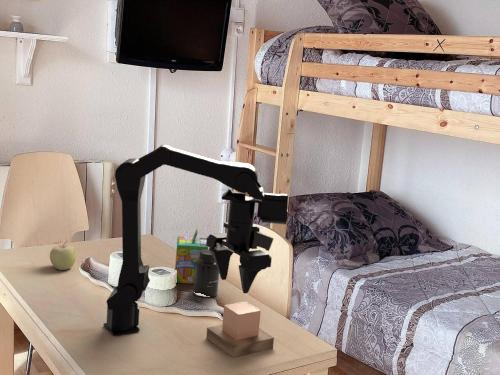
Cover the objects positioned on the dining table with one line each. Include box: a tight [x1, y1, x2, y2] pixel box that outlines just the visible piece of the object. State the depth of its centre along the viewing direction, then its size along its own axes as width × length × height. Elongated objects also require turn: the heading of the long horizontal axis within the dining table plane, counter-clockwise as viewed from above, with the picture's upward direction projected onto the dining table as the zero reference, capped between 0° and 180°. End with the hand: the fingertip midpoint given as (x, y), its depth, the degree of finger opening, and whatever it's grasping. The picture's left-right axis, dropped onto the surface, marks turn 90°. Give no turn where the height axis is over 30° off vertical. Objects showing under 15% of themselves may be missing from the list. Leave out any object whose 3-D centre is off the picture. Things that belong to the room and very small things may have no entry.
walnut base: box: [205, 324, 275, 358], centre depth 146 cm, size 11×11×2 cm
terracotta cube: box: [221, 300, 262, 340], centre depth 146 cm, size 6×6×6 cm
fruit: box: [49, 242, 77, 271], centre depth 186 cm, size 8×7×8 cm
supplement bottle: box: [192, 249, 220, 298], centre depth 175 cm, size 7×7×12 cm
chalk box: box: [174, 228, 209, 285], centre depth 185 cm, size 9×9×15 cm
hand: (234, 286), depth 147 cm, fingers open, 9 cm apart
